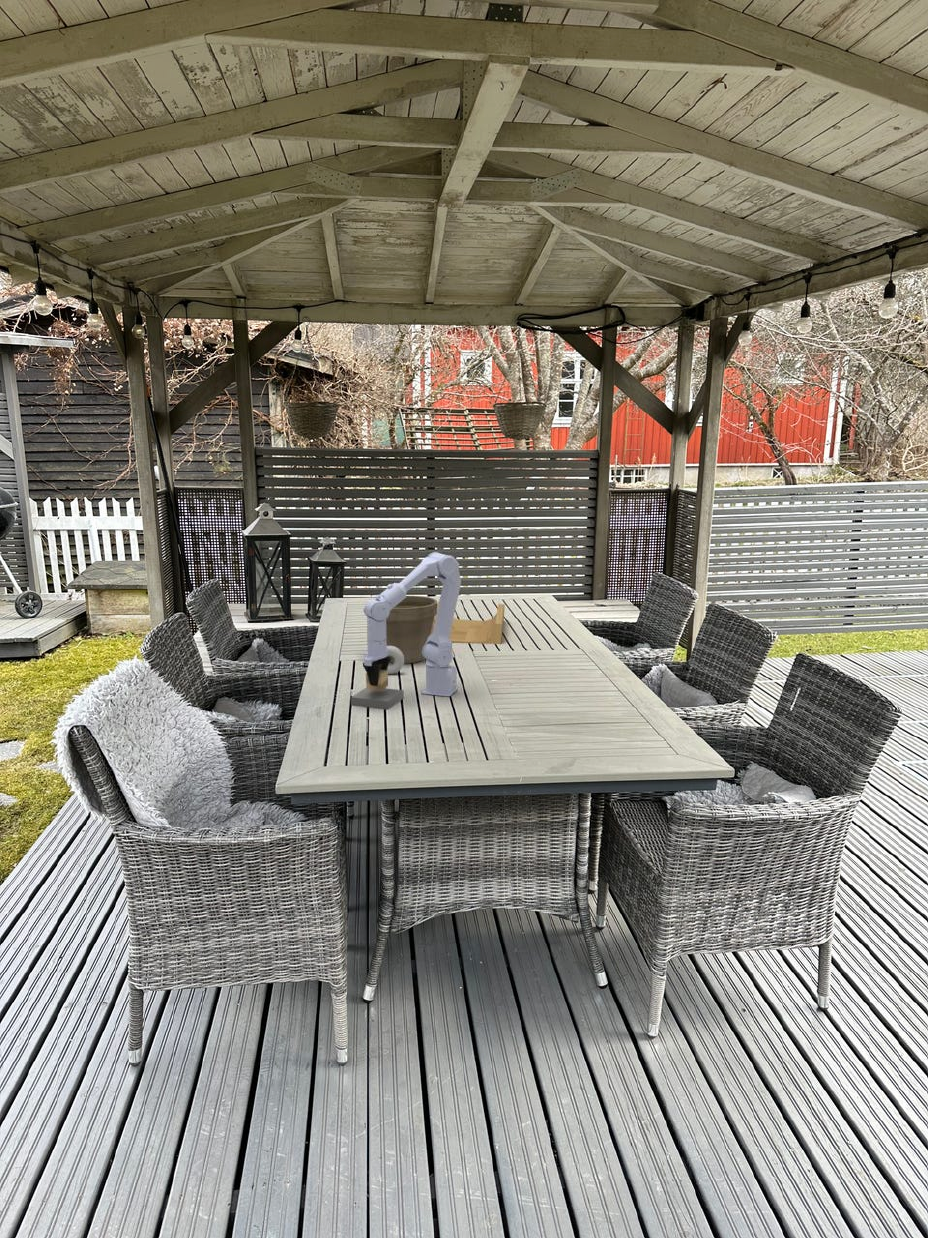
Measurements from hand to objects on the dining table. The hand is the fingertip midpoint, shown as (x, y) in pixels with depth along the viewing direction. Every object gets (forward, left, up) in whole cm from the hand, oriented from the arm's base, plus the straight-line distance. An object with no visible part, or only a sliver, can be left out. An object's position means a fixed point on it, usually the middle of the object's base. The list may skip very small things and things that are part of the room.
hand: (377, 682), depth 241 cm
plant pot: (+11, -49, -6) cm, 51 cm away
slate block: (0, 0, -6) cm, 6 cm away
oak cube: (0, 0, -2) cm, 2 cm away
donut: (+8, -29, -6) cm, 31 cm away
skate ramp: (+4, -98, -7) cm, 98 cm away
